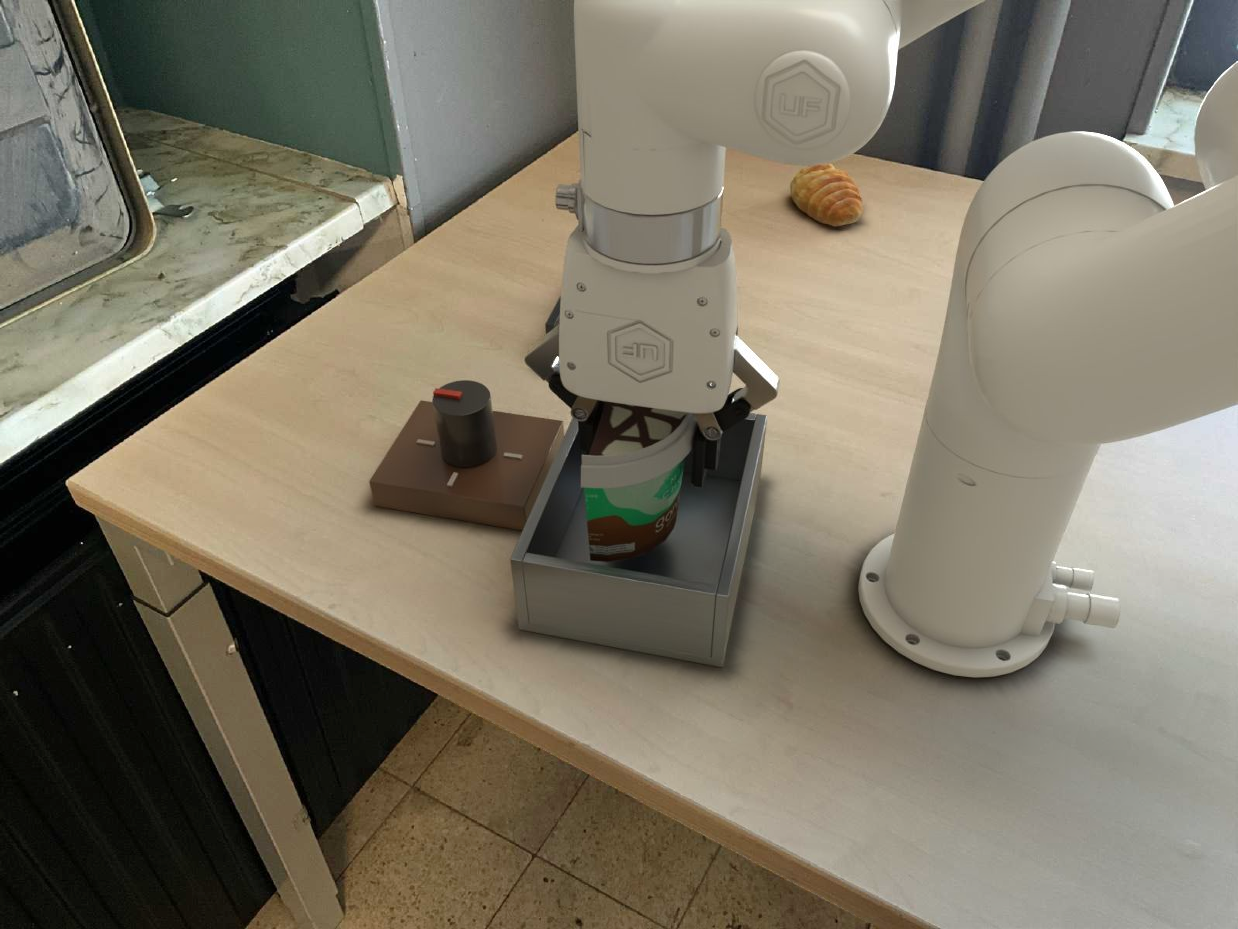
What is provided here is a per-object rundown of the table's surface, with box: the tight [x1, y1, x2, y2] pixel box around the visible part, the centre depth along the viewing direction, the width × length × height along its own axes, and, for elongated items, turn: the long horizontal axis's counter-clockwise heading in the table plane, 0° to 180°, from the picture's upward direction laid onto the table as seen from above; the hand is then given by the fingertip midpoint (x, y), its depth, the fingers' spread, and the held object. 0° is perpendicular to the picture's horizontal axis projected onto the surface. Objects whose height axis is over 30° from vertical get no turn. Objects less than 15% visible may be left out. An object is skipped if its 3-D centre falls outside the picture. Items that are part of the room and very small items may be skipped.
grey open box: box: [509, 412, 768, 668], centre depth 69 cm, size 14×18×7 cm
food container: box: [581, 401, 698, 562], centre depth 65 cm, size 12×6×10 cm, turn 168°
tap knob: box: [431, 379, 497, 468], centre depth 74 cm, size 4×4×5 cm
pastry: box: [789, 163, 864, 228], centre depth 107 cm, size 9×7×4 cm
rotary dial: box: [368, 399, 565, 531], centre depth 76 cm, size 12×10×3 cm
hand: (649, 463), depth 65 cm, fingers closed on food container, 6 cm apart
